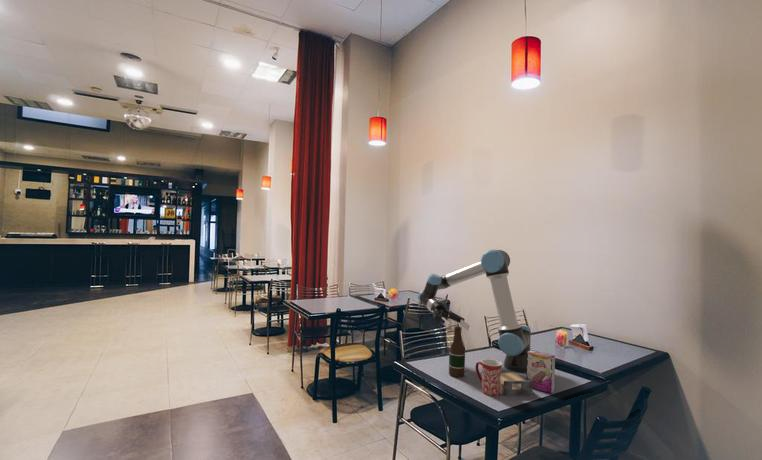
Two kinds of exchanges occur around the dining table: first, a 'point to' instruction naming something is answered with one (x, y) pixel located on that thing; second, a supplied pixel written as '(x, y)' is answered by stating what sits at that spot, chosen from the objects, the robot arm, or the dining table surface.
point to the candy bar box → (541, 370)
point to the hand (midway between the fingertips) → (458, 326)
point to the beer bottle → (457, 355)
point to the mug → (490, 376)
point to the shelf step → (514, 385)
